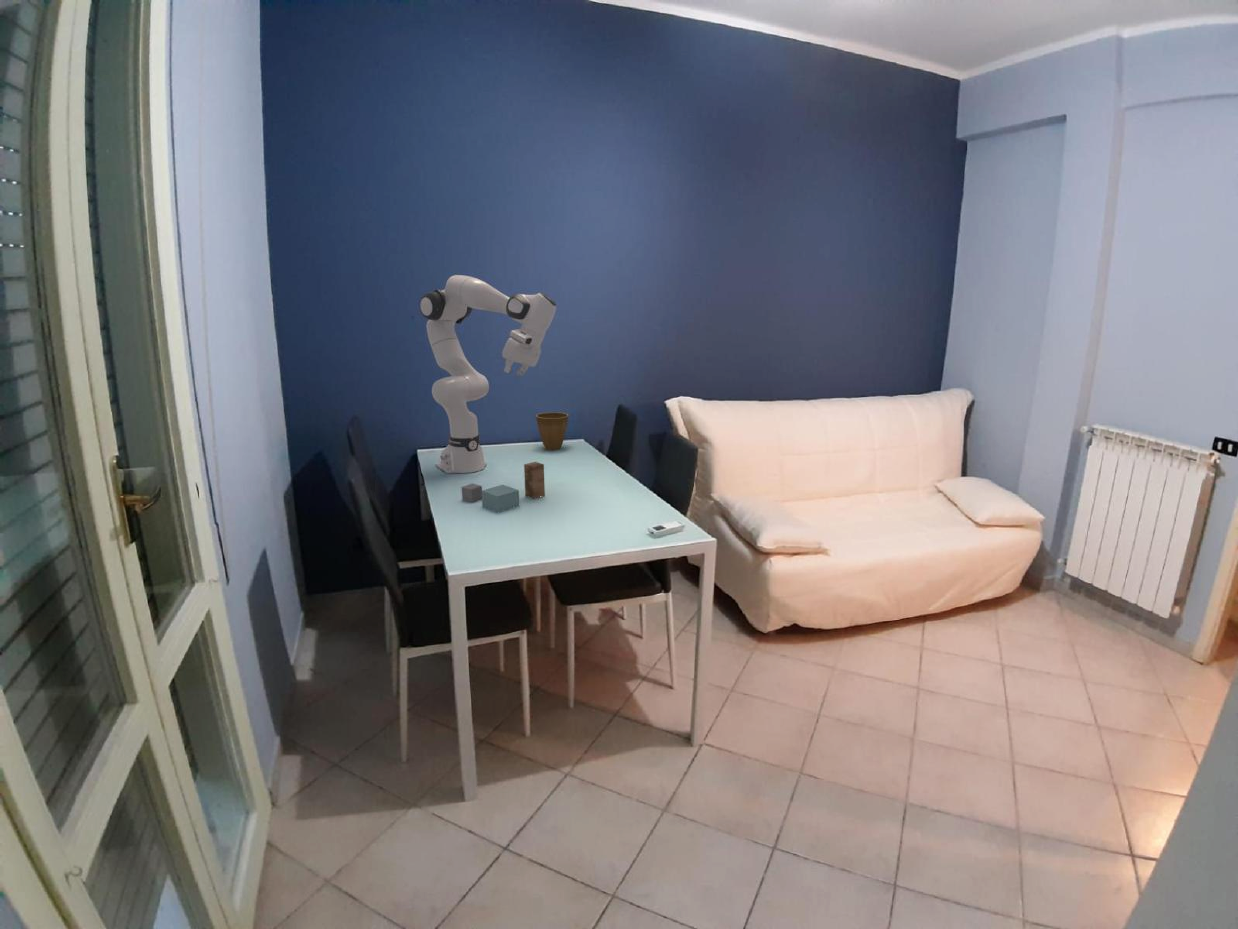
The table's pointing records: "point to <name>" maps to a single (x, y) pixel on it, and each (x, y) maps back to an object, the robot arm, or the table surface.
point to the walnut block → (534, 480)
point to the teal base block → (500, 498)
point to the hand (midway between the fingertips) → (513, 373)
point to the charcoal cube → (471, 492)
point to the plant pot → (552, 429)
